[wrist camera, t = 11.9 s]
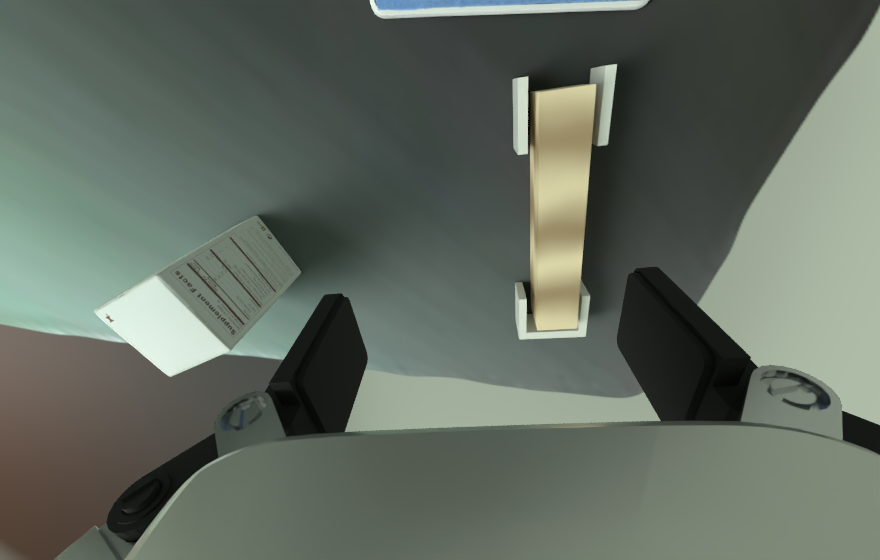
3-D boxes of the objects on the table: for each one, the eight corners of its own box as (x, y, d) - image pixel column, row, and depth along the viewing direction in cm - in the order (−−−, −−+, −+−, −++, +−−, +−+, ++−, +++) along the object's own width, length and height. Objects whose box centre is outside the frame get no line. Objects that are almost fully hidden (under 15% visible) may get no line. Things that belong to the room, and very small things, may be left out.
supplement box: (254, 296, 38) (167, 380, 27) (206, 241, 35) (86, 310, 24) (305, 273, 36) (232, 353, 25) (259, 212, 33) (152, 273, 22)
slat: (529, 91, 26) (539, 92, 22) (577, 84, 26) (596, 83, 22) (530, 304, 36) (537, 330, 32) (565, 302, 35) (576, 328, 31)
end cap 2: (515, 282, 34) (519, 299, 31) (580, 278, 33) (590, 295, 31) (515, 320, 37) (519, 339, 34) (576, 317, 36) (585, 336, 33)
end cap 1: (512, 79, 26) (517, 78, 23) (600, 66, 25) (617, 63, 22) (513, 148, 28) (518, 154, 25) (593, 139, 27) (607, 144, 24)
